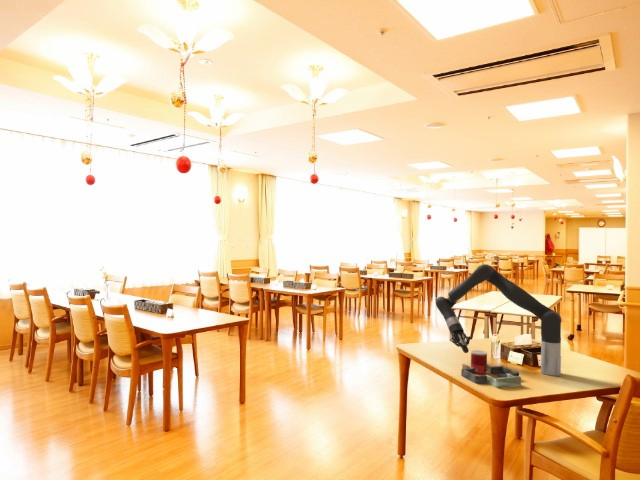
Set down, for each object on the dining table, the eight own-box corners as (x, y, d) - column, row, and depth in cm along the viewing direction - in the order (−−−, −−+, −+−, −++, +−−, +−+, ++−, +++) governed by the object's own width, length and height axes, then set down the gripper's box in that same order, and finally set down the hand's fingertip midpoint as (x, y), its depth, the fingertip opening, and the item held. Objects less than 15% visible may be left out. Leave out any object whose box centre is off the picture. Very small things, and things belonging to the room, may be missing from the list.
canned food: (487, 375, 222) (488, 354, 222) (472, 374, 224) (472, 353, 224) (485, 371, 230) (485, 350, 230) (469, 369, 231) (470, 349, 231)
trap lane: (452, 371, 228) (452, 363, 228) (492, 368, 235) (492, 359, 235) (487, 389, 201) (487, 380, 201) (530, 385, 208) (530, 375, 208)
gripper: (447, 323, 245) (459, 349, 233) (466, 322, 248) (479, 348, 237) (442, 330, 250) (453, 356, 238) (461, 329, 253) (473, 355, 242)
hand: (466, 352), depth 237 cm, fingers closed
